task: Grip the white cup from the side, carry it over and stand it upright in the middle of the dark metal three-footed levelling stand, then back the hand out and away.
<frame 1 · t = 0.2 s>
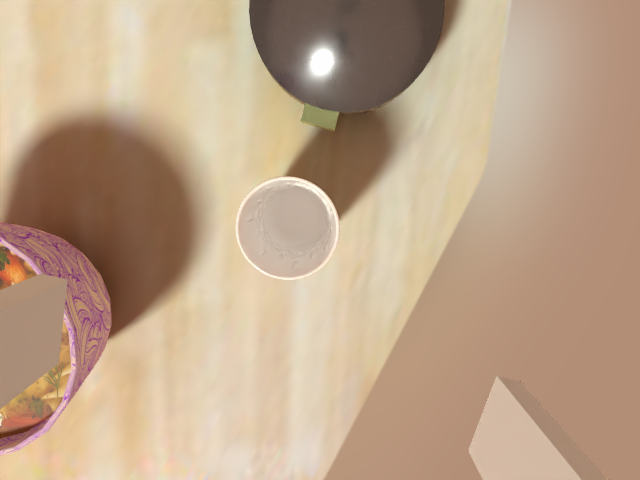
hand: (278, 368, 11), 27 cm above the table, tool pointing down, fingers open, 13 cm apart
bowl of food: (57, 296, 40), on the table
levelling stand: (344, 31, 35), on the table
white cup: (298, 216, 38), on the table
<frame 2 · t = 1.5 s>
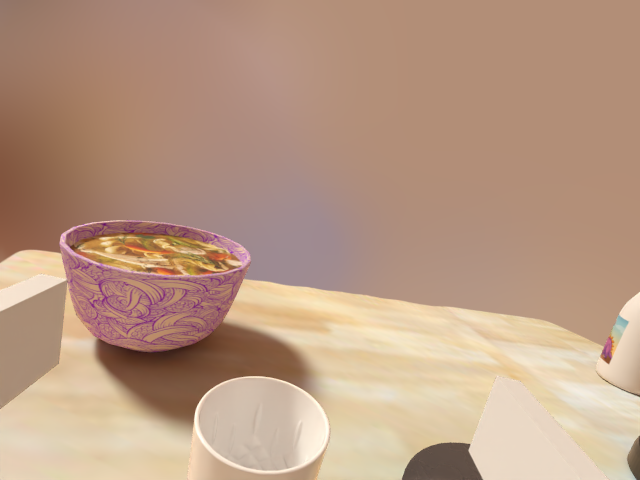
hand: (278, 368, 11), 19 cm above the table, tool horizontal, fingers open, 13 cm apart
bowl of food: (152, 335, 46), on the table
milk bottle: (620, 383, 63), on the table
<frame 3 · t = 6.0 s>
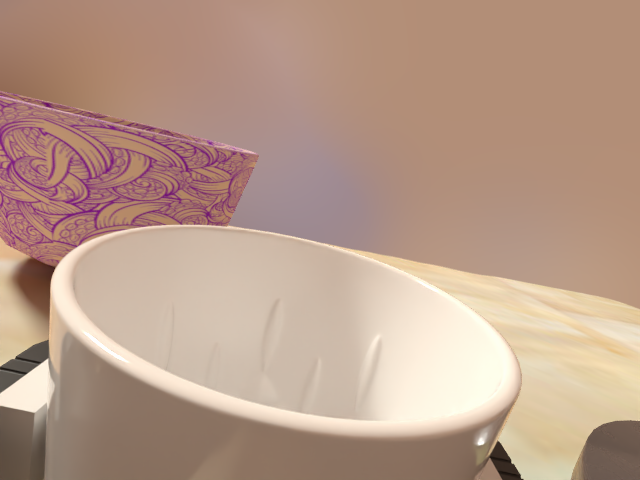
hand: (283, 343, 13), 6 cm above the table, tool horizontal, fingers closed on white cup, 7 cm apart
bowl of food: (111, 266, 31), on the table
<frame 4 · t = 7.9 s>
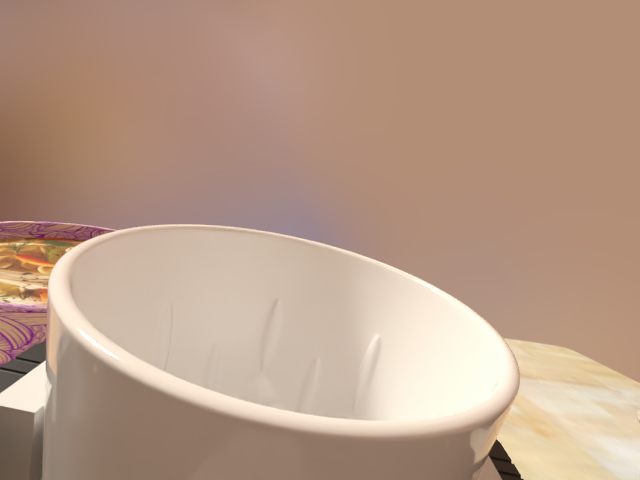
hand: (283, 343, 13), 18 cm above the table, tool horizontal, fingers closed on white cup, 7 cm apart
bowl of food: (55, 379, 33), on the table
when the fingers open (12 cm above the table, at t = 10.2 s): white cup drops 1 cm, resting on levelling stand.
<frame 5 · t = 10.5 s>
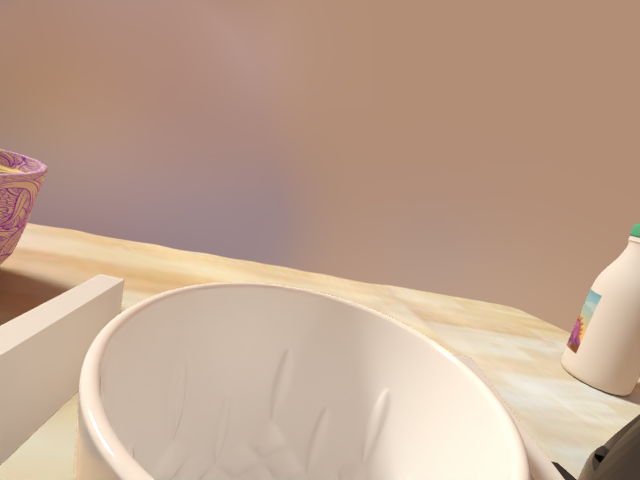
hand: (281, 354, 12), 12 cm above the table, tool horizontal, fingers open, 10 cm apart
milk bottle: (592, 379, 48), on the table
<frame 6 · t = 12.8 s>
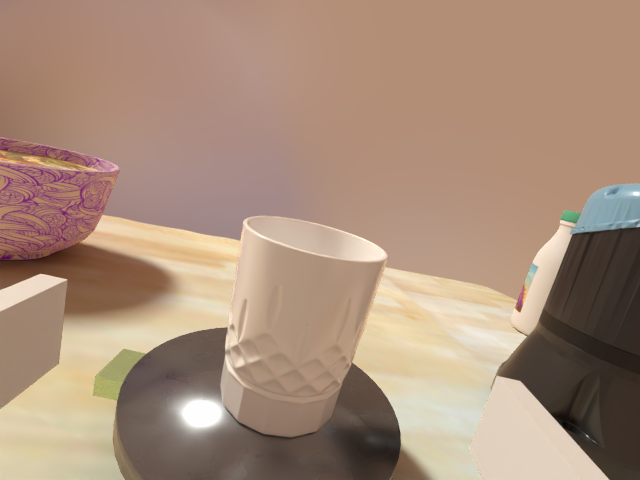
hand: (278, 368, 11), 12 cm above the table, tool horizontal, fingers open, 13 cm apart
bowl of food: (12, 249, 44), on the table
levelling stand: (253, 456, 23), on the table
milk bottle: (534, 334, 60), on the table
white cup: (276, 399, 22), point 4 cm above the table, touching levelling stand
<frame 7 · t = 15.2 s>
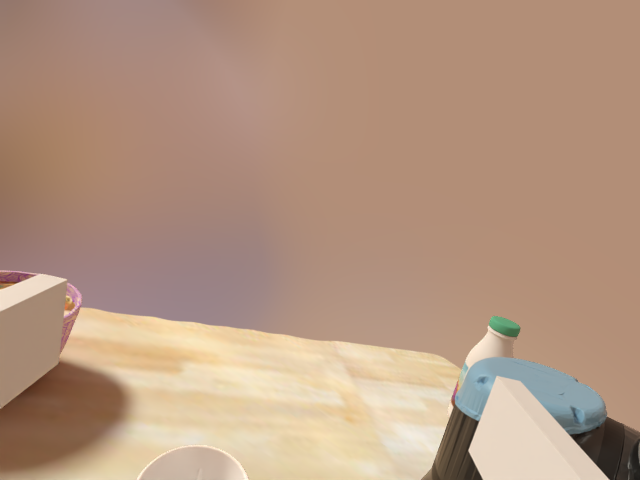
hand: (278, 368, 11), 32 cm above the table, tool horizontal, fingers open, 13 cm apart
milk bottle: (467, 424, 66), on the table
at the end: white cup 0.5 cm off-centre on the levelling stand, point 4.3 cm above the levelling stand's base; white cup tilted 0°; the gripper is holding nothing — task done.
